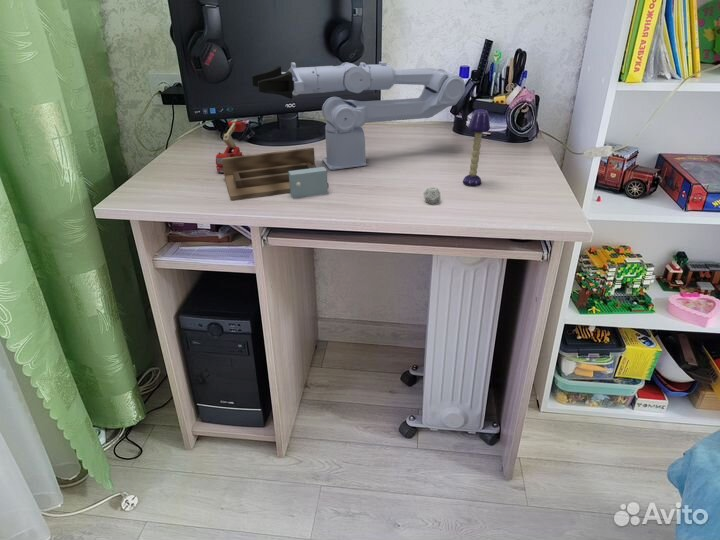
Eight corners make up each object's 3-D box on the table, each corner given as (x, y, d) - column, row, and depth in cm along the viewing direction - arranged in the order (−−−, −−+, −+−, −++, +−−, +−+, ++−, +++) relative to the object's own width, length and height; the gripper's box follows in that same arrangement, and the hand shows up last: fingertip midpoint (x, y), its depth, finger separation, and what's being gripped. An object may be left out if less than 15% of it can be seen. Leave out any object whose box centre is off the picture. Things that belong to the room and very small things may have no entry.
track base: (314, 167, 136) (313, 147, 133) (328, 187, 124) (327, 166, 122) (224, 178, 130) (221, 158, 128) (231, 200, 119) (228, 179, 116)
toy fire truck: (215, 173, 133) (209, 135, 128) (237, 155, 145) (232, 119, 140) (228, 174, 132) (222, 135, 128) (249, 156, 144) (245, 119, 139)
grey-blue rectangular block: (325, 189, 124) (324, 166, 121) (328, 194, 121) (327, 171, 118) (290, 194, 122) (288, 171, 119) (293, 199, 119) (291, 176, 116)
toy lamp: (485, 181, 126) (493, 108, 118) (482, 188, 123) (490, 114, 114) (464, 178, 128) (470, 107, 119) (460, 186, 124) (467, 112, 115)
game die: (443, 203, 116) (444, 190, 115) (427, 206, 115) (428, 193, 113) (435, 197, 119) (436, 184, 117) (420, 200, 118) (421, 187, 116)
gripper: (305, 57, 129) (248, 60, 125) (322, 66, 117) (259, 69, 113) (307, 88, 133) (251, 92, 129) (323, 99, 121) (262, 104, 117)
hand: (255, 83), depth 121 cm, fingers open, 7 cm apart
